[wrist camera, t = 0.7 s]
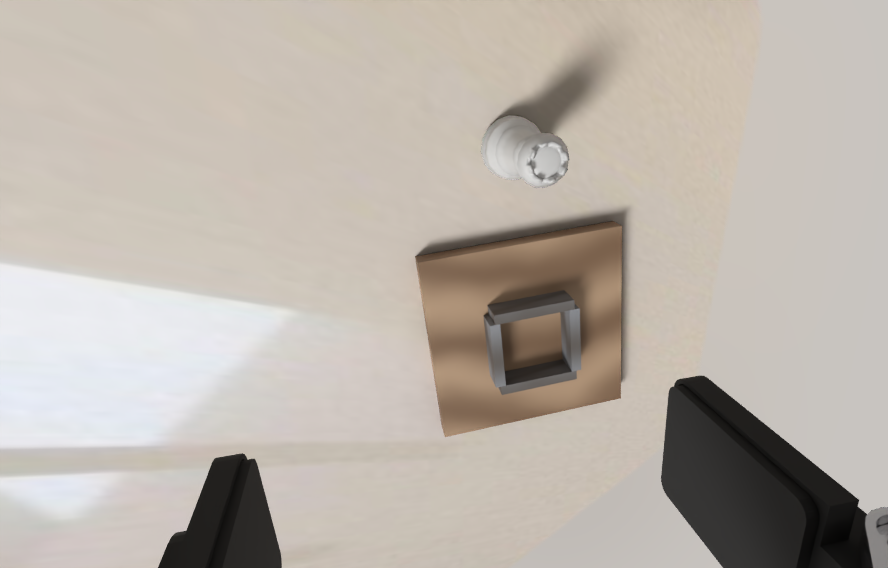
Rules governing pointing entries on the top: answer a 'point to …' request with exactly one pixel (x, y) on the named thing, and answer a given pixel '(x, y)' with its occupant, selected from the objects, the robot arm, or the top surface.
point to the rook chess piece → (524, 152)
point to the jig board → (524, 325)
